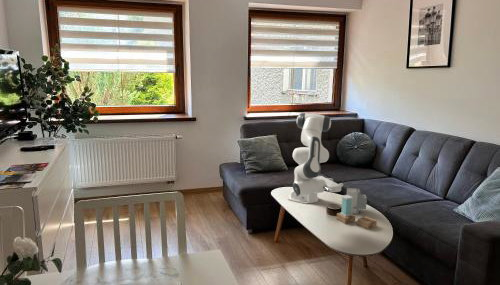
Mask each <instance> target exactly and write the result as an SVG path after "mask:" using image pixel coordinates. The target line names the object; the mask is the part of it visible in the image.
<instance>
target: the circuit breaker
mask: <svg viewBox="0 0 500 285" xmlns="http://www.w3.org/2000/svg"><path fill="white" fill-rule="evenodd" d="M345 195H349V196H351V197H353V199H352V202H351V214H353V215H359V213H360V212H359V211H360V210H367V204H370V200H368V199H367V195H366V194H362V193H361V190H360V188H351V187H349V188H348V187H347V188H346V193H345Z"/></svg>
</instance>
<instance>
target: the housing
mask: <svg viewBox="0 0 500 285" xmlns="http://www.w3.org/2000/svg"><path fill="white" fill-rule="evenodd" d="M341 198H342V200H341V212H339V213H340V214H341V215H343V216H345V217H346V216H351V215H352V213H351V202H352V199H353V197H351V196H349V195H347V194H344V195H341Z"/></svg>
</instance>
